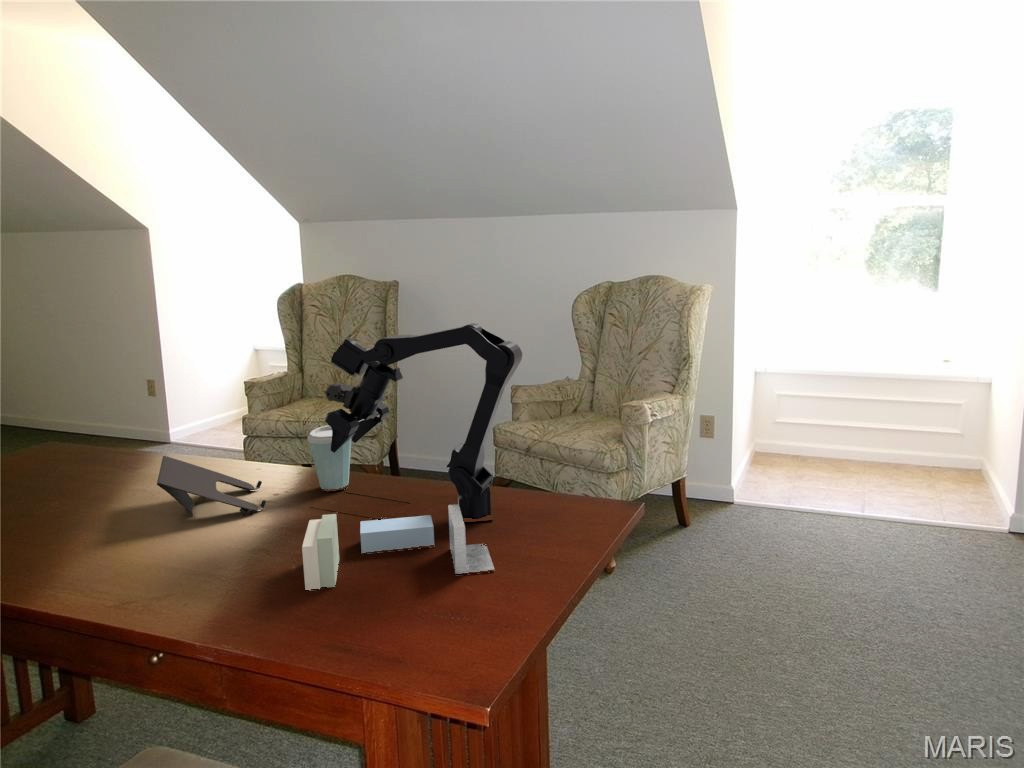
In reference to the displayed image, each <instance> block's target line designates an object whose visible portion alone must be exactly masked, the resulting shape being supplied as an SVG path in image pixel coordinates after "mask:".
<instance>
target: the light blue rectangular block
mask: <svg viewBox="0 0 1024 768" xmlns="http://www.w3.org/2000/svg"><path fill="white" fill-rule="evenodd" d="M434 529H435V528H434V523H433V519H432V515H431V514H428V515H418V516H408V517H407V516H406V517H396V518H383V519H381V520H378V519H373V520H372V519H371V520H362V521H360V528H359V531H360V533H359V534H360V546H361V547H360V549H361V554H362V553H366V552H374V551H382V550H393V549H403V548H411V547H419V546H430V545H434V546H435V531H434Z"/></svg>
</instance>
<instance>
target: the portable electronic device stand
mask: <svg viewBox="0 0 1024 768" xmlns="http://www.w3.org/2000/svg"><path fill="white" fill-rule="evenodd" d="M158 471H159V472H158V477H157V481H156V485H157V486H158V487H160V489H162V490H164V491H165V492H166V493H167V494H169V495H170V496H171V497H172V498H174V500H175V501H176V502H177V503H178V504H180V506H182V508H183V509H185V511H186V513H188V514H189V515H190V516H191V517H192V516H193V515H194V512H193V507H194V505H195V501H194V499H192V497H191V496H190V494H191V495H195V496H197V497H200V498H204V499H208V500H210V501H215V502H219V503H220V504H221V503H222V504H225V505H228V506H233V507H235V508H236V507H237V508H240V509H239V512H241V513H243V514H246V515H249V514H250V512H253V511H254V512H255V511H258V510H262V511H263V510H264V508H265V506H266V503H267V500H266V499H262V501H261V503H260V505H257V504H255V503H253V502H249V501H246V500H244V499H241V498H238V497H236V496H232V495H230V494H226V493H223V492H221V491H219V490H218V489H217V482H218V483H222V484H225V485H229V486H231V487H234V488H238V489H241V490H244V491H247V492H251V491H250V490H257V489H259V490H260V488H261V485H262V483H263V482H262V480H258V481H257V484H256V486H254V485H253V484H251V483H249V482H247V481H244V480H241V479H238V478H235V477H233V476H229V475H226V474H223V473H220V472H218V471H215V470H212V469H208V468H204V467H203V466H199V465H195V464H192V463H190V462H186V461H182V460H180V459H177V458H174V457H170V456H166V455H163V456H162V459H161V463H160V469H159V470H158ZM193 504H194V505H193ZM193 517H194V516H193Z"/></svg>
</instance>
